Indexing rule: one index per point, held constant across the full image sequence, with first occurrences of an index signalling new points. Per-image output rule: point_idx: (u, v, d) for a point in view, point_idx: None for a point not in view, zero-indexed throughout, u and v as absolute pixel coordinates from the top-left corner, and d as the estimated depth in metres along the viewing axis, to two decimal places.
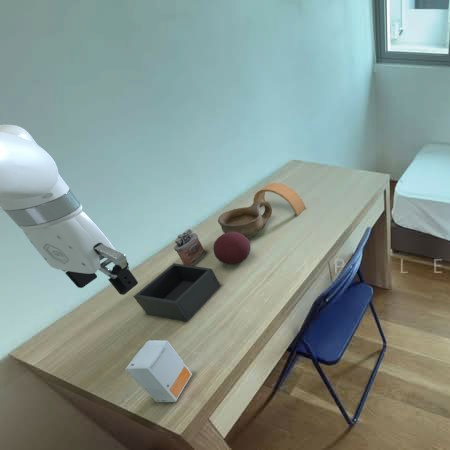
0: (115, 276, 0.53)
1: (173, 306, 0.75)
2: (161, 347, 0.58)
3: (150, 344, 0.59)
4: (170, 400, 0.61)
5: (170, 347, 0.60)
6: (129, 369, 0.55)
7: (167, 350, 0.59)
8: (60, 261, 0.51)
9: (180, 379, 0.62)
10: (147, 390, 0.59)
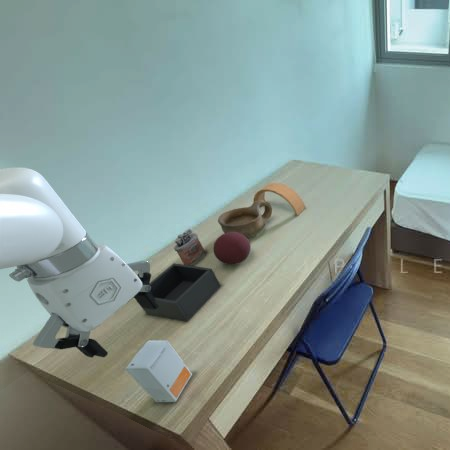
0: (149, 286, 0.56)
1: (173, 306, 0.75)
2: (161, 347, 0.58)
3: (150, 344, 0.59)
4: (170, 400, 0.61)
5: (170, 347, 0.60)
6: (129, 369, 0.55)
7: (167, 350, 0.59)
8: (108, 301, 0.48)
9: (180, 379, 0.62)
10: (147, 390, 0.59)
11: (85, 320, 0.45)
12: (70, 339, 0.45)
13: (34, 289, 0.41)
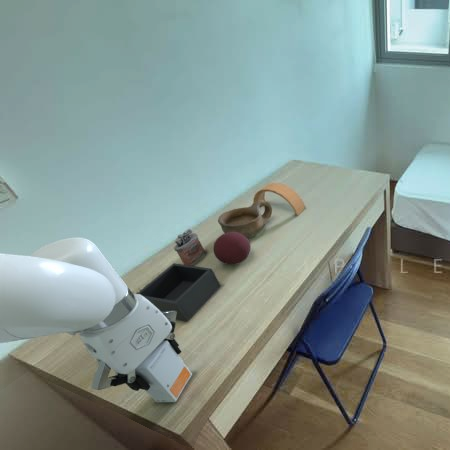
0: (174, 334, 0.61)
1: (173, 306, 0.75)
2: (161, 347, 0.58)
3: None
4: (170, 400, 0.61)
5: (170, 347, 0.60)
6: None
7: (167, 350, 0.59)
8: (144, 346, 0.54)
9: (180, 379, 0.62)
10: None
11: (125, 364, 0.51)
12: (121, 377, 0.53)
13: (84, 340, 0.47)
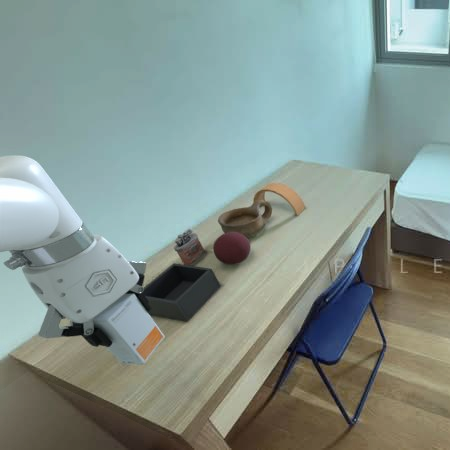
0: (142, 288, 0.55)
1: (173, 306, 0.75)
2: (126, 299, 0.52)
3: None
4: (137, 362, 0.54)
5: (137, 302, 0.54)
6: None
7: (133, 304, 0.53)
8: (103, 293, 0.47)
9: (149, 340, 0.56)
10: (110, 349, 0.52)
11: (80, 311, 0.45)
12: (76, 327, 0.46)
13: (29, 278, 0.41)
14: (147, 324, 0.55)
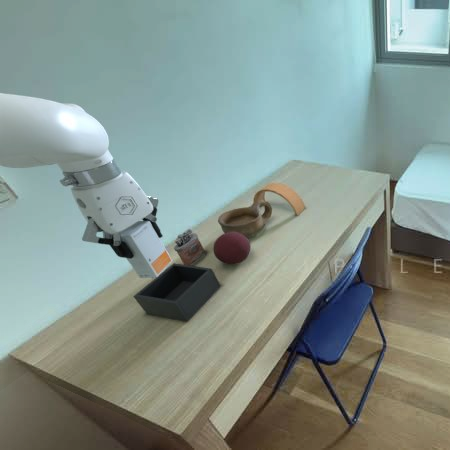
0: (155, 218, 0.70)
1: (173, 306, 0.75)
2: (144, 224, 0.67)
3: None
4: (152, 275, 0.70)
5: (151, 228, 0.69)
6: None
7: (149, 229, 0.68)
8: (128, 214, 0.63)
9: (161, 260, 0.71)
10: (131, 263, 0.68)
11: (111, 224, 0.60)
12: (108, 238, 0.62)
13: (76, 195, 0.56)
14: (159, 247, 0.71)
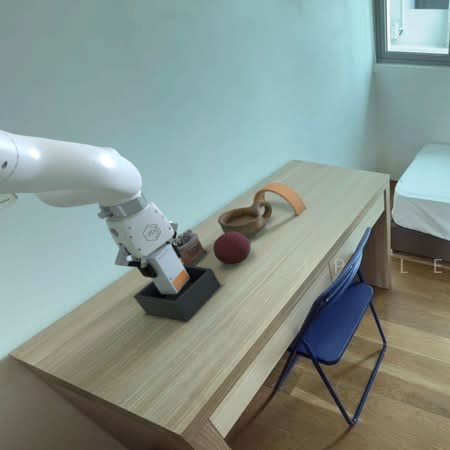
0: (175, 240, 0.78)
1: (173, 306, 0.75)
2: (166, 247, 0.75)
3: None
4: (172, 292, 0.78)
5: (172, 249, 0.77)
6: None
7: (170, 251, 0.76)
8: (153, 240, 0.71)
9: (180, 277, 0.79)
10: (155, 281, 0.76)
11: (139, 250, 0.68)
12: (136, 261, 0.70)
13: (110, 225, 0.65)
14: (178, 266, 0.79)
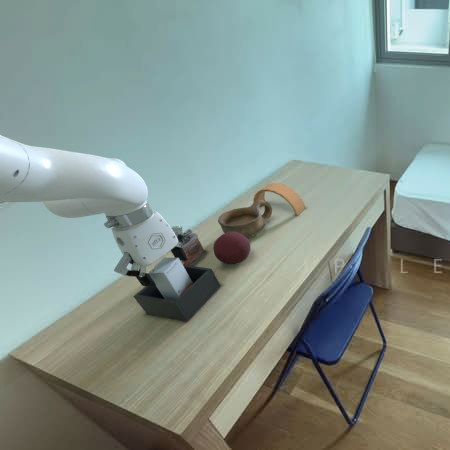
0: (182, 244, 0.80)
1: (173, 306, 0.75)
2: (174, 261, 0.78)
3: (165, 259, 0.78)
4: None
5: (180, 263, 0.80)
6: (151, 273, 0.74)
7: (178, 264, 0.79)
8: (158, 248, 0.72)
9: None
10: (163, 294, 0.78)
11: (144, 258, 0.69)
12: (134, 271, 0.69)
13: (116, 235, 0.66)
14: (186, 279, 0.82)
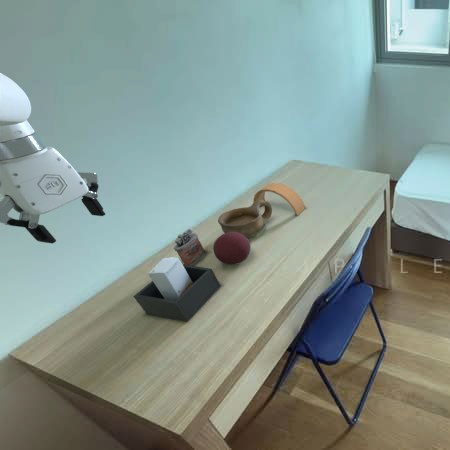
0: (96, 194, 0.66)
1: (173, 306, 0.75)
2: (174, 261, 0.78)
3: (165, 259, 0.78)
4: None
5: (180, 263, 0.80)
6: (151, 273, 0.74)
7: (178, 264, 0.79)
8: (55, 194, 0.58)
9: None
10: (163, 294, 0.78)
11: (33, 204, 0.55)
12: (21, 220, 0.55)
13: None
14: (186, 279, 0.82)
